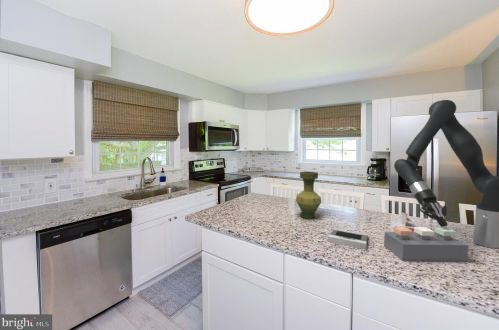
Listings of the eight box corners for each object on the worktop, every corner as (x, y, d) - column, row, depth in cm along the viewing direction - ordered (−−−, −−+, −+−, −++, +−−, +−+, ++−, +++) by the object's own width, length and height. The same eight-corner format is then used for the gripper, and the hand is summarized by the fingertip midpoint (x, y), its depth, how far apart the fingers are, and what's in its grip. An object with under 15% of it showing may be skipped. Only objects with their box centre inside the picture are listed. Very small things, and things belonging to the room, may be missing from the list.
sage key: (445, 239, 103) (446, 227, 103) (454, 243, 98) (455, 231, 98) (433, 239, 103) (434, 227, 103) (442, 243, 98) (443, 231, 98)
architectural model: (407, 224, 139) (408, 212, 139) (412, 228, 133) (413, 215, 132) (401, 223, 140) (402, 212, 139) (406, 227, 133) (406, 215, 133)
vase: (290, 217, 153) (291, 172, 150) (304, 212, 163) (305, 170, 161) (312, 223, 141) (313, 175, 138) (325, 217, 151) (326, 172, 149)
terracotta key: (404, 238, 104) (405, 226, 103) (411, 243, 99) (412, 231, 98) (393, 238, 104) (393, 226, 104) (400, 243, 99) (400, 231, 99)
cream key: (424, 238, 104) (425, 227, 103) (433, 243, 99) (434, 231, 98) (413, 238, 104) (414, 227, 103) (421, 243, 99) (422, 231, 98)
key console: (440, 246, 108) (441, 232, 107) (466, 261, 94) (468, 245, 94) (383, 245, 109) (384, 231, 108) (402, 260, 95) (403, 244, 95)
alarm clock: (327, 236, 114) (334, 223, 127) (327, 244, 114) (334, 231, 128) (366, 243, 105) (368, 229, 119) (366, 253, 106) (368, 237, 120)
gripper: (415, 188, 107) (437, 223, 96) (439, 188, 109) (464, 221, 98) (405, 197, 113) (425, 230, 102) (428, 196, 115) (451, 229, 104)
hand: (444, 226), depth 100 cm, fingers closed
